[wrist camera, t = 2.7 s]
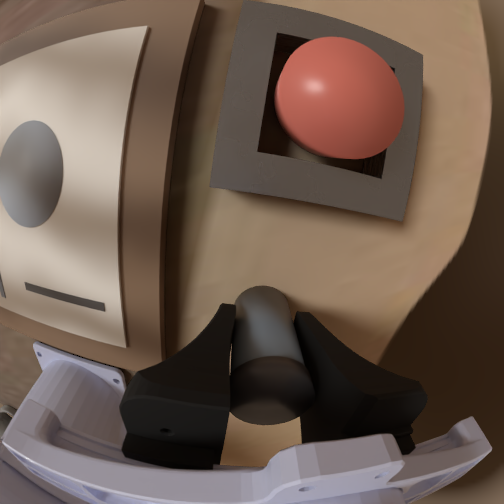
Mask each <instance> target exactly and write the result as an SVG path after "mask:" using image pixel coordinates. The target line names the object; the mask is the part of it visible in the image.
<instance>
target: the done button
mask: <svg viewBox="0 0 504 504" xmlns="http://www.w3.org/2000/svg"><path fill="white" fill-rule="evenodd" d="M274 107H275V113H276V116H277V118H278V121H279V123H280V125H281V127H282V128H283V130H284V131H285V133H286V134H287V135H288V136H289V138H290V139H291V140H292V141H293V142H295V143H296V144H297V145H298V146H300V147H301V148H303V149H304V150H306V151H308V152H310V153H312V154H315V155H318V156H321V157H327V158H344V159H362V158H367V157H371V156H374V155H376V154H378V153H380V152H382V151H384V150H385V149H386V148H387V147H389V146H390V145H391V143H392V142H393V141H394V140H395V138H396V137H397V135H398V134H399V131H400V129H401V127H402V123H403V119H404V108H405V107H404V98H403V93H402V90H401V87H400V84H399V82H398V79H397V77H396V76H395V74H394V72H393V71H392V69H391V68H390V67H389V65H388V64H387V63H386V62H385V61H384V60H383V59H382V58H381V57H380V56H379V55H378V54H377V53H376V52H374V51H373V50H371V49H370V48H368V47H367V46H365V45H363V44H361V43H359V42H356V41H354V40H350V39H347V38H341V37H322V38H317V39H314V40H311V41H309V42H307V43H305V44H303V45H301V46H300V47H299V48H298V49H296V50H295V51H294V52H293V54H292V55H291V56H290V57H289V59H288V60H287V62H286V64H285V66H284V68H283V70H282V72H281V75H280V77H279V79H278V81H277V84H276V87H275V91H274Z"/></svg>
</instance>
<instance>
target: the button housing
mask: <svg viewBox="0 0 504 504" xmlns="http://www.w3.org/2000/svg"><path fill="white" fill-rule="evenodd" d="M322 37H341V38H347V39H350V40H354V41H356V42H359V43H361V44H363V45H365V46H367V47H368V48H370V49H371V50H373V51H374V52H376V53H377V54H378V55H379V56H380V57H381V58H382V59H383V60H384V61H385V62H386V63H387V64H388V65H389V67H390V68H391V69H392V71H393V72H394V74H395V76H396V77H397V79H398V82H399V84H400V87H401V90H402V93H403V98H404V107H405V108H404V119H403V123H402V127H401V129H400V131H399V134H398V135H397V137H396V138H395V140H394V141H393V142H392V143H391V145H390V146H389V147H387V148H386V149H385V150H384V151H382V152H380V153H378V154H376V155H374V156H371V157H367V158H365V160H364V165H363V171H362V174H361V173H357V172H354V171H350V170H346V169H341V168H337V167H333V166H329V165H324V164H320V163H315V162H310V161H305V160H300V159H295V158H290V157H284V156H279V155H273V154H267V153H261V152H257V149H258V143H259V136H260V130H261V124H262V118H263V112H264V106H265V100H266V94H267V88H268V82H269V76H270V70H271V64H272V58H273V52H274V51H279V52H284V53H289V54H293V52H294V51H295V50H296V49H298V48H299V47H300V46H301V45H303V44H305V43H307V42H309V41H311V40H314V39H317V38H322ZM422 87H423V55H422V54H420V53H418V52H416V51H414V50H413V49H411V48H409V47H407V46H405V45H403V44H400V43H398V42H396V41H394V40H392V39H390V38H387V37H385V36H383V35H380V34H378V33H376V32H373V31H371V30H368V29H365V28H363V27H360V26H357V25H354V24H352V23H349V22H346V21H342V20H339V19H336V18H333V17H329V16H326V15H322V14H318V13H315V12H311V11H306V10H302V9H297V8H293V7H288V6H282V5H276V4H270V3H263V2H255V1H246V0H244V1H243V5H242V9H241V13H240V17H239V21H238V26H237V30H236V35H235V39H234V44H233V49H232V53H231V58H230V63H229V68H228V73H227V79H226V84H225V89H224V95H223V101H222V106H221V112H220V118H219V124H218V131H217V137H216V144H215V151H214V157H213V165H212V172H211V179H210V187H213V188H221V189H228V190H236V191H243V192H250V193H257V194H264V195H270V196H276V197H283V198H289V199H295V200H300V201H306V202H312V203H317V204H322V205H328V206H333V207H338V208H343V209H348V210H353V211H357V212H362V213H367V214H371V215H376V216H380V217H385V218H389V219H393V220H397V221H403V217H404V213H405V209H406V205H407V200H408V195H409V191H410V186H411V181H412V175H413V170H414V164H415V158H416V151H417V144H418V136H419V127H420V117H421V105H422Z"/></svg>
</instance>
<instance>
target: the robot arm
mask: <svg viewBox="0 0 504 504" xmlns="http://www.w3.org/2000/svg"><path fill="white" fill-rule="evenodd" d="M235 317H236V305H233V304H225V303H222V304H221V305H220V307H219V309H218V311H217V313H216V314H215V316H214V317H213V319H212V320H211V321H210V323H209V324H208V325H207V326H206V328H205V329H204V330H203V331H202V332H201V333H200V334H199V335H198V336H197V337H196V338H195V339H194V340H193V341H192V342H191V343H189V344H188V345H187V346H186V347H184V348H183V349H182V350H180V351H179V352H178V353H176V354H175V355H173V356H171V357H170V358H168V359H166V360H164V361H162V362H160V363H158V364H156V365H153V366H151V367H148V368H145V369H143V370H140V371H137V373H136V374H135V375H134V377H133V378H132V380H131V381H130V383H129V384H128V386H127V387H126V383H125V378H124V374H123V372H122V371H121V370H119V369H117V368H114V367H111V366H107V365H103V364H100V363H97V362H93V361H90V360H87V359H84V358H81V357H78V356H75V355H72V354H69V353H66V352H63V351H60V350H58V349H55V348H52V347H50V346H47V345H45V344H42V343H40V342H35V343H34V344H33V348H34V350H35V353H36V356H37V358H38V361H39V363H40V366H41V368H42V370H43V373H42V374H41V376H40V377H39V378H38V380H37V381H36V383H35V384H34V386H33V387H32V389H31V390H30V392H29V393H28V395H27V396H26V398H25V399H24V401H23V402H22V404H21V405H20V407H19V409H18V410H17V412H16V413H15V415H14V417H13V418H12V420H11V422H10V423H9V425H8V427H7V429H6V430H5V432H4V434H3V436H2V437H1V439H0V504H410V503H412V502H414V501H416V500H418V499H420V498H423V497H425V496H426V495H428V494H431V493H433V492H434V491H436V490H438V489H440V488H442V487H444V486H446V485H447V484H449V483H451V482H453V481H455V480H456V479H458V478H460V477H461V476H463V475H464V474H465V473H466V472H468V471H469V470H470V469H471V468H472V467H473V466H475V465H476V464H477V463H478V462H479V461H481V460H482V459H483V458H484V457H485V456H486V455H487V454H488V453H489V452H490V451H491V450H492V447H491V446H490V444H489V442H488V440H487V439H486V437H485V436H484V434H483V432H482V431H481V429H480V427H479V426H478V424H477V423H476V421H475V420H474V418H473V417H469V418H467V419H465V420H462V421H460V422H458V423H457V424H455V425H454V426H453V427H452V428H451V429H450V431H449V432H448V433H447V434H445V435H442V436H440V437H437V438H434V439H432V440H429V441H426V442H423V443H420V444H417V445H415V444H414V442H413V440H412V438H411V436H410V434H412V432H413V429H412V427H411V424H412V423H413V421H414V420H415V419H416V418H417V417H418V415H419V414H420V413H421V412H422V410H423V409H424V407H425V405H426V403H427V400H428V398H427V394H426V392H425V391H424V389H423V388H422V386H421V384H420V383H419V381H415V380H412V379H409V378H405V377H402V376H399V375H397V374H394V373H392V372H389V371H387V370H385V369H382V368H380V367H378V366H377V365H375V364H373V363H371V362H369V361H367V360H366V359H364V358H362V357H361V356H359V355H358V354H356V353H355V352H353V351H352V350H351V349H349V348H348V347H347V346H346V345H344V344H343V343H342V342H341V341H339V340H338V339H337V338H336V337H335V336H334V335H333V334H332V333H330V332H329V331H328V330H327V329H326V328H325V327H324V326H323V325H322V324H321V323H320V322H319V321H318V320H317V319H316V318H315V317H314V316H313V315H312V314H310V313H309V312H299V311H297V312H296V316H295V319H294V323H293V324H294V327H295V331H296V334H297V338H298V342H299V345H300V349H301V353H302V356H303V360H304V364H305V367H306V368H307V369H308V370H309V372H310V375H311V379H312V383H313V386H314V390H315V400H314V402H313V404H312V406H311V407H310V408H309V409H308V410H307V411H306V412H305V413H304V414H302V415H301V416H300V422H301V436H302V444H298V445H294V446H291V447H289V448H286V449H283V450H281V451H280V452H278V453H277V454H276V455H275V456H274V457H272V458H271V459H270V461H269V463H268V464H267V466H265V467H244V466H227V465H220V460H221V454H222V450H223V446H224V440H225V434H226V429H227V423H228V417H229V412H230V366H229V363H230V351H231V344H232V337H233V331H234V324H235Z"/></svg>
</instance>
